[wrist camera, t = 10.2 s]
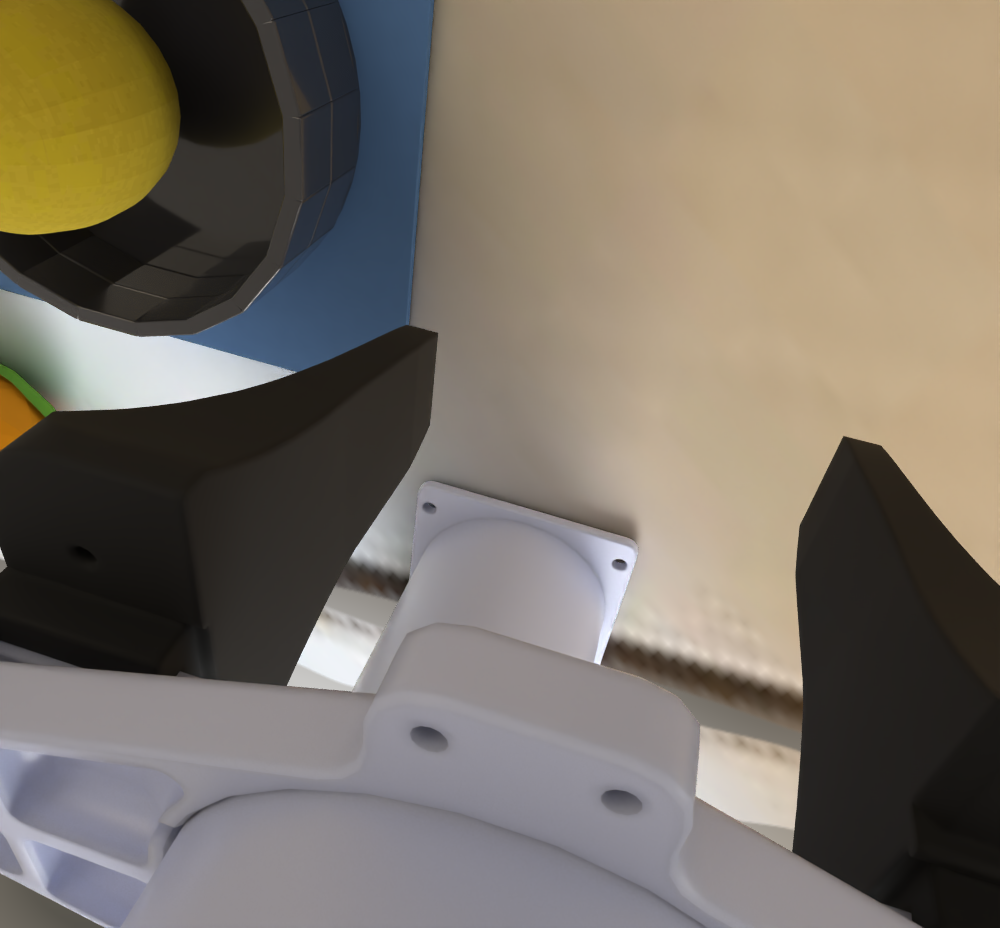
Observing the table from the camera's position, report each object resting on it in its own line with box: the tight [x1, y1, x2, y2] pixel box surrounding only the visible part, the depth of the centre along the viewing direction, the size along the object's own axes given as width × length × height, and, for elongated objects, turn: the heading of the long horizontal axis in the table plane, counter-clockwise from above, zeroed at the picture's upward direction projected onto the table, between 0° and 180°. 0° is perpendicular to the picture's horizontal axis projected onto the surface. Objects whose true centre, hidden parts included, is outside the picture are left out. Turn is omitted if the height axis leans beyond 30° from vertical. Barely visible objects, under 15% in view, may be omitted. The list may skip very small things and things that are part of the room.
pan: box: [0, 0, 361, 337], centre depth 21 cm, size 13×13×4 cm
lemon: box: [0, 0, 181, 235], centre depth 19 cm, size 6×6×8 cm
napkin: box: [0, 0, 434, 372], centre depth 23 cm, size 17×16×1 cm
